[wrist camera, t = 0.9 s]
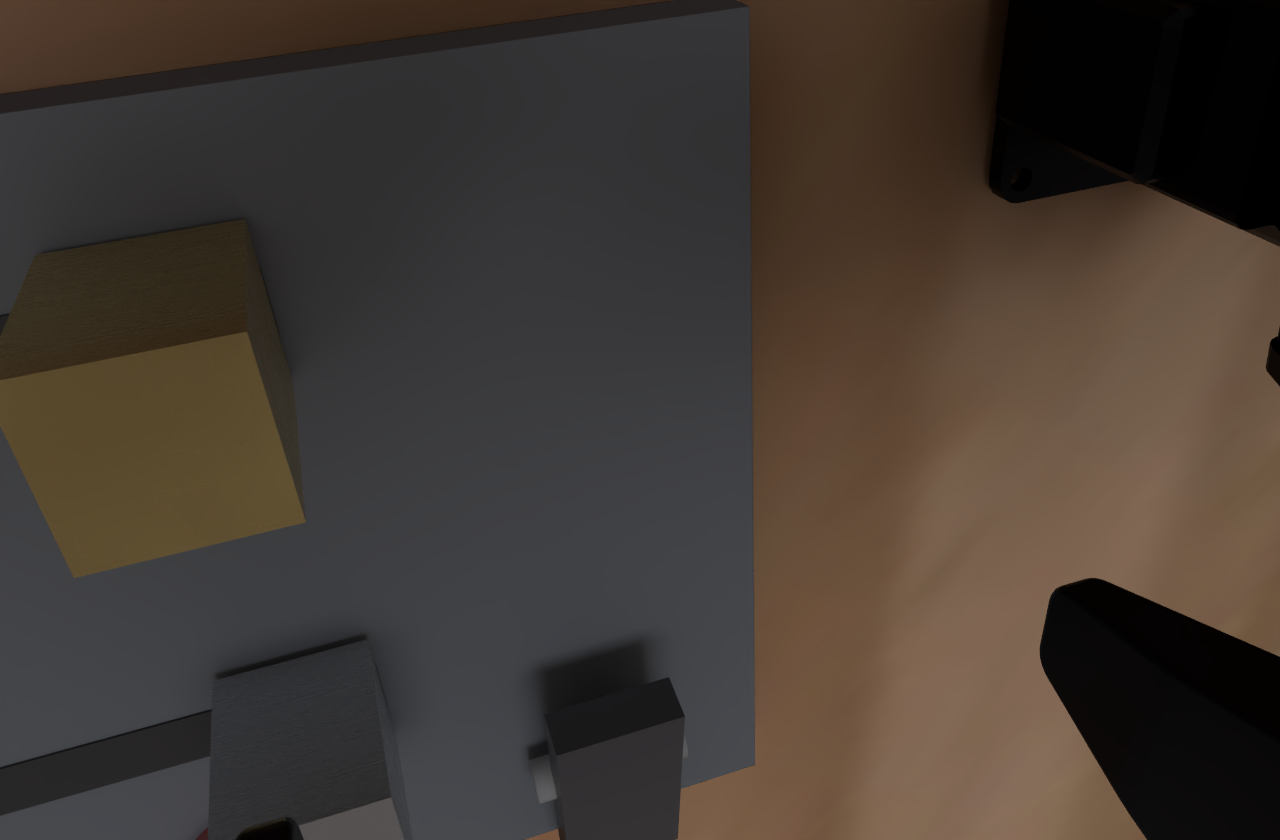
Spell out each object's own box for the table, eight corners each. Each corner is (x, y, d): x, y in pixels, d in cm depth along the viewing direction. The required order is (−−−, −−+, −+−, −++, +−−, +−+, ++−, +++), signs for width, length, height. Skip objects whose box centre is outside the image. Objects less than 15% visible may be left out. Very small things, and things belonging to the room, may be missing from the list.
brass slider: (245, 218, 16) (246, 332, 13) (293, 385, 18) (305, 522, 14) (34, 255, 15) (-22, 384, 12) (105, 424, 17) (74, 578, 14)
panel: (721, -7, 18) (788, 24, 16) (736, 731, 28) (778, 810, 26) (-720, 194, 13) (-906, 277, 11) (-71, 985, 24) (-102, 1107, 22)
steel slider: (367, 638, 21) (391, 797, 18) (396, 738, 22) (422, 899, 19) (212, 681, 20) (206, 853, 17) (253, 780, 22) (256, 954, 19)
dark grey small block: (676, 649, 23) (702, 710, 22) (670, 776, 27) (692, 833, 26) (518, 695, 22) (537, 761, 21) (537, 819, 26) (554, 879, 25)
